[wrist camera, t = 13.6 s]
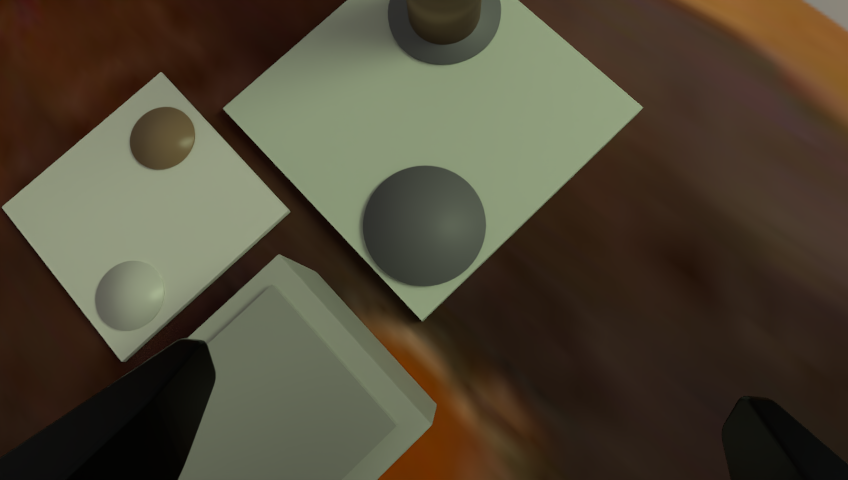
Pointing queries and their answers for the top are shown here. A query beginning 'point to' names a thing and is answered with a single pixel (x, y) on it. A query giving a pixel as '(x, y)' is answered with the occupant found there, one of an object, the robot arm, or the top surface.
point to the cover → (301, 387)
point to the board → (430, 134)
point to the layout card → (144, 215)
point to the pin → (443, 19)
